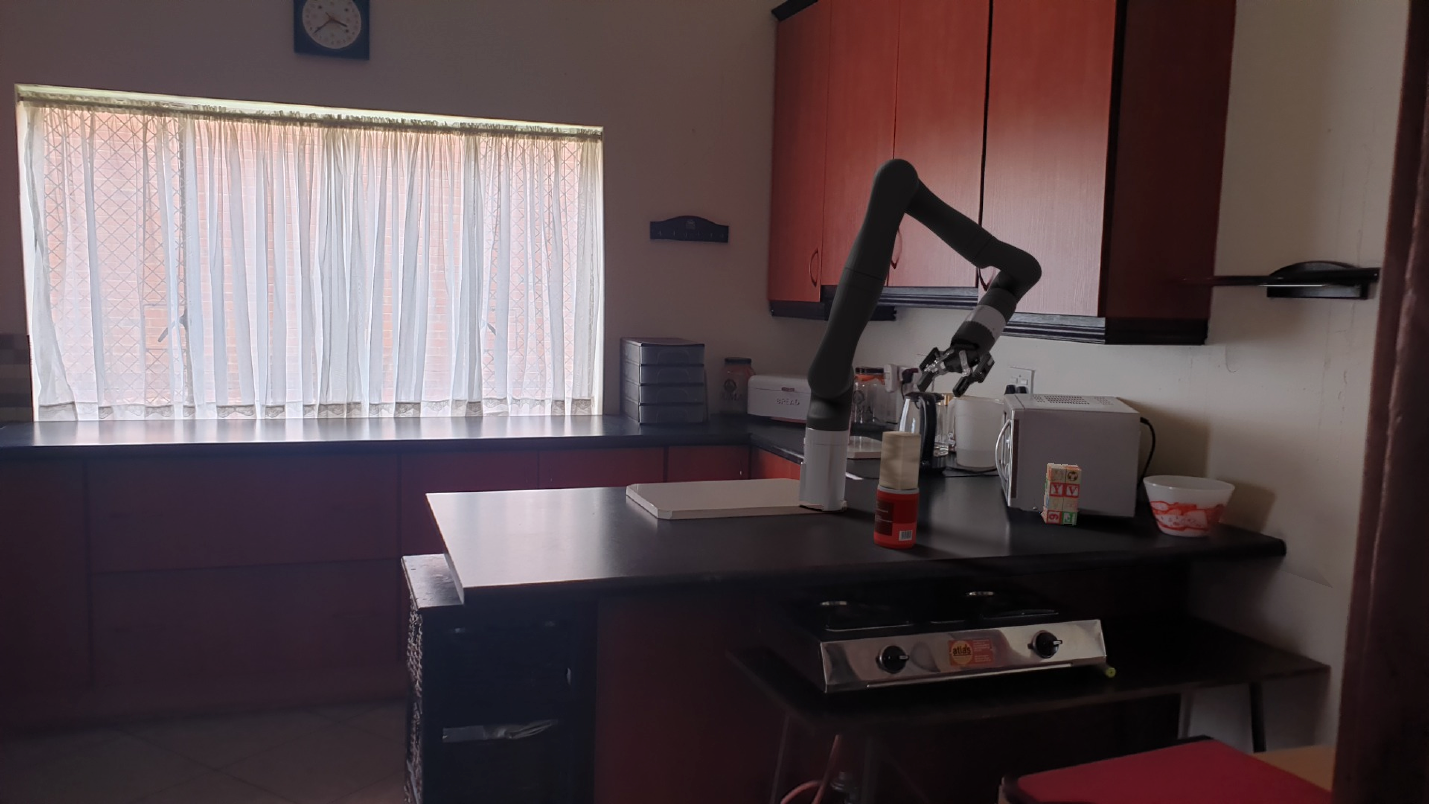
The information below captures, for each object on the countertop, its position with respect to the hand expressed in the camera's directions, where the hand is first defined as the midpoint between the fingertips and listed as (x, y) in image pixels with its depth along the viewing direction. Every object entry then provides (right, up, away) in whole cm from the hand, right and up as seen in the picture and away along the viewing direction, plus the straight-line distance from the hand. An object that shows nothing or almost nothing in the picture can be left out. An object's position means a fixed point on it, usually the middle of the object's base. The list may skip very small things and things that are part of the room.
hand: (937, 392), depth 191 cm
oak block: (-9, -18, -5) cm, 20 cm away
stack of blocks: (+33, -27, +31) cm, 53 cm away
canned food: (-9, -29, -4) cm, 30 cm away
